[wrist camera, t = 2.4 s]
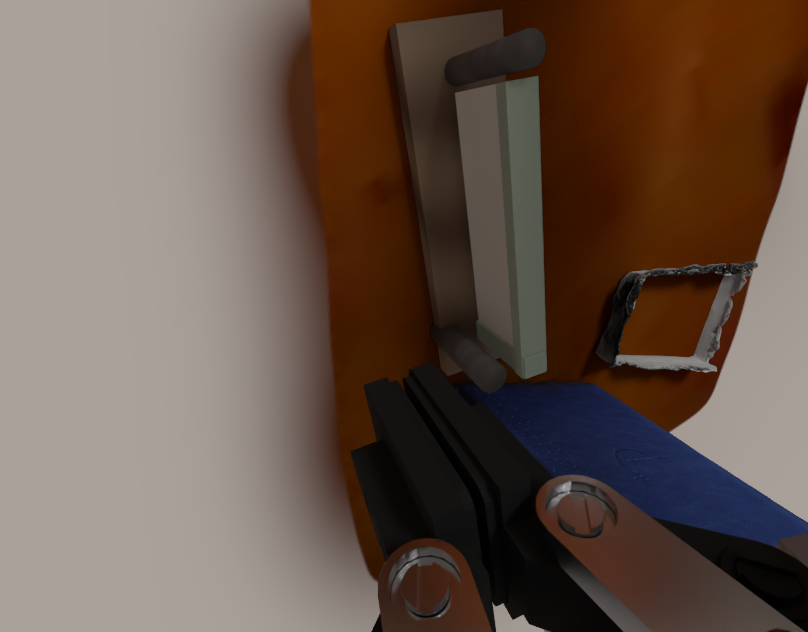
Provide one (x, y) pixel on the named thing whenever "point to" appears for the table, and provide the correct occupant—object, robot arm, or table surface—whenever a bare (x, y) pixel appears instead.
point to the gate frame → (452, 163)
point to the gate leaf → (506, 218)
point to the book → (631, 458)
